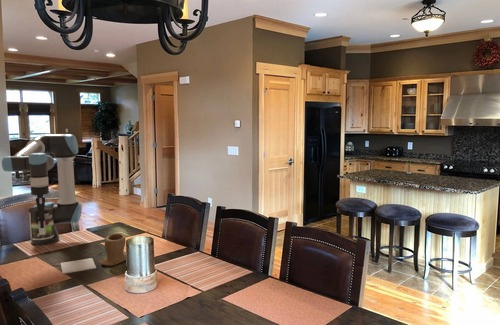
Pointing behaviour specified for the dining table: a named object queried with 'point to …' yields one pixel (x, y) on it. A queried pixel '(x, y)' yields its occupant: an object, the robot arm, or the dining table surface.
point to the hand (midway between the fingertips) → (42, 231)
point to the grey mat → (77, 265)
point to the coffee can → (35, 225)
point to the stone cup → (114, 249)
